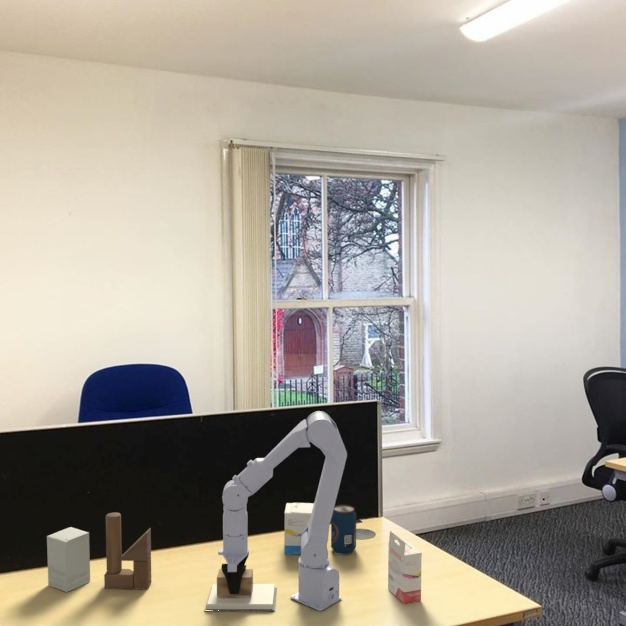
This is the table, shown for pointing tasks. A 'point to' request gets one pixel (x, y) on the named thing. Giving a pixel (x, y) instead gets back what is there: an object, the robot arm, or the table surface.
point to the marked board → (245, 600)
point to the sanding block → (245, 586)
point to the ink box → (295, 525)
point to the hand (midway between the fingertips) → (235, 588)
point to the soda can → (343, 529)
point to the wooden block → (126, 558)
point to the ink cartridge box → (404, 570)
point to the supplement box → (68, 559)
